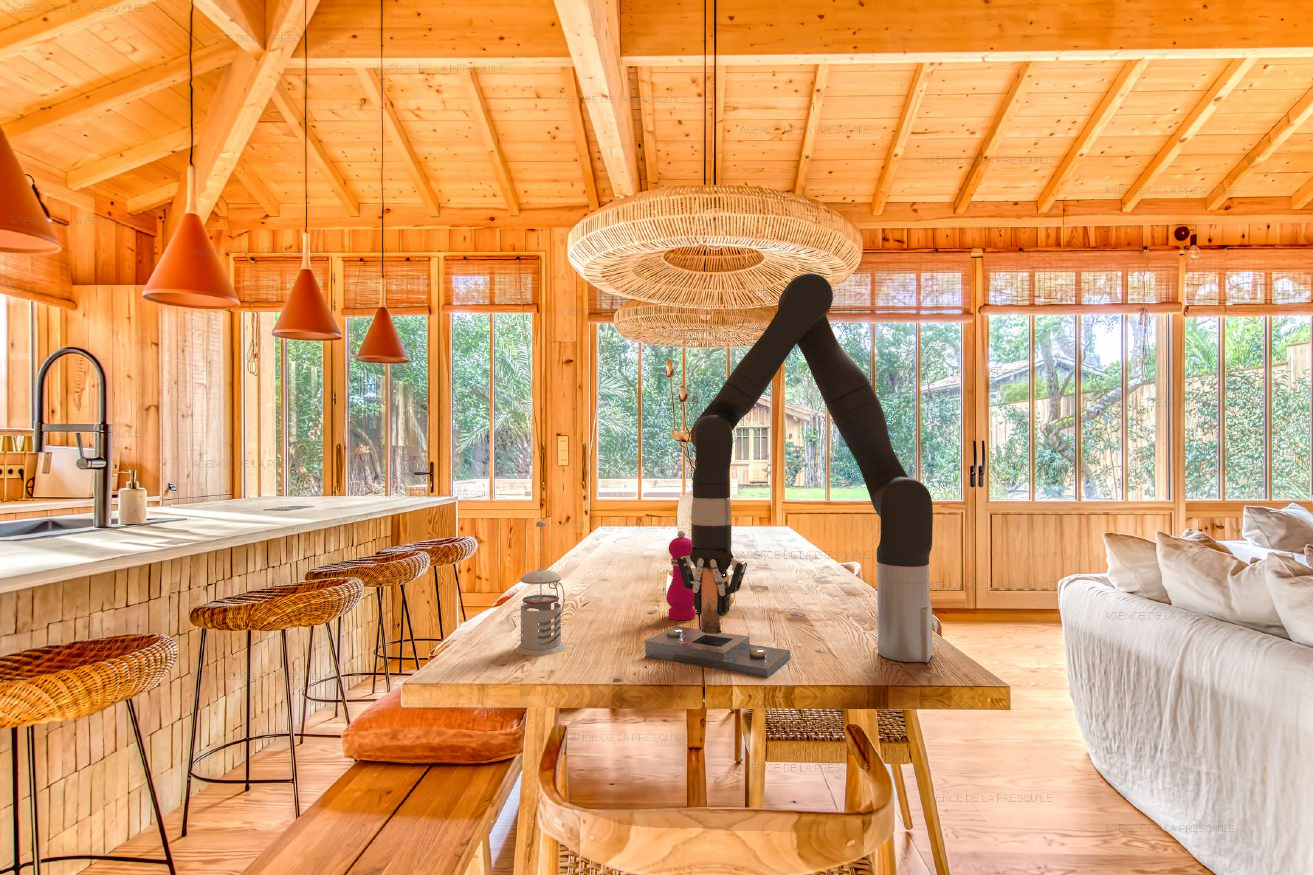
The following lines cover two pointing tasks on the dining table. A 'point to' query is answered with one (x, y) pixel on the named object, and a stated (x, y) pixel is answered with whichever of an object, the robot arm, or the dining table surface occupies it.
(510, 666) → the dining table surface
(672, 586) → the pepper mill
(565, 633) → the dining table surface
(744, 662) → the lower link
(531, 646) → the french press
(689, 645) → the upper link
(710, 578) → the copper pin
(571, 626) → the dining table surface
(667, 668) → the dining table surface
